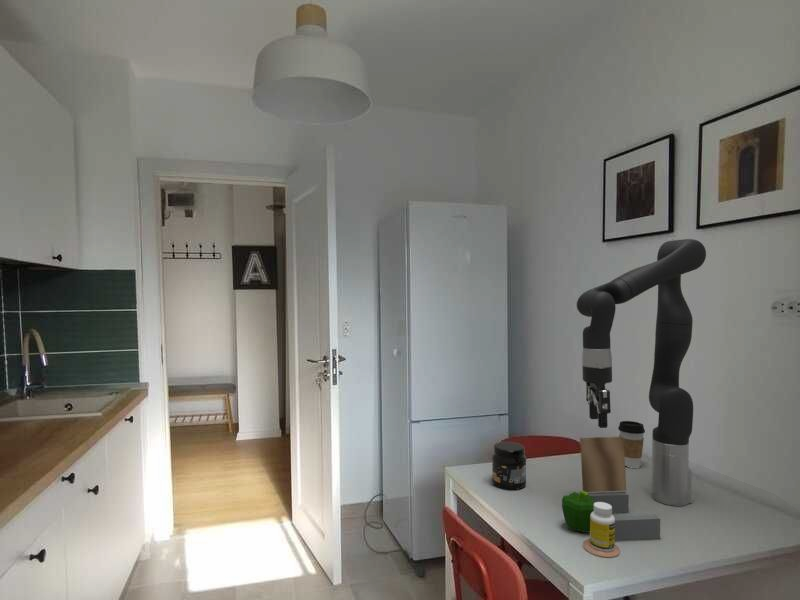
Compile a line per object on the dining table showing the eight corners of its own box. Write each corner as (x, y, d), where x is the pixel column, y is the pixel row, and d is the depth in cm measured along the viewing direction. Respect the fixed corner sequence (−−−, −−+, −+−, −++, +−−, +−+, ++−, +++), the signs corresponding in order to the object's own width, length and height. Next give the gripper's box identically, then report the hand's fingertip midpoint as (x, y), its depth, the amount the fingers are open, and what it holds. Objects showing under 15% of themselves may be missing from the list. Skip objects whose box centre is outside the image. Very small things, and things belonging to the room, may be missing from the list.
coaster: (608, 539, 118) (608, 537, 118) (626, 557, 111) (626, 555, 111) (577, 540, 118) (577, 538, 118) (592, 558, 110) (593, 556, 110)
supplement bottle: (612, 555, 111) (613, 512, 110) (587, 548, 113) (587, 506, 113) (616, 544, 115) (616, 503, 115) (592, 538, 118) (592, 498, 118)
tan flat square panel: (626, 490, 133) (624, 489, 134) (623, 437, 135) (621, 436, 136) (584, 492, 132) (582, 491, 133) (581, 438, 134) (579, 437, 135)
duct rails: (624, 509, 134) (624, 491, 134) (660, 538, 119) (660, 518, 118) (582, 511, 133) (582, 493, 133) (612, 541, 118) (613, 520, 117)
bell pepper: (557, 520, 128) (557, 483, 128) (587, 519, 128) (587, 482, 128) (570, 536, 120) (570, 496, 119) (602, 535, 120) (603, 495, 120)
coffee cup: (621, 469, 165) (622, 425, 164) (614, 460, 173) (615, 418, 173) (648, 470, 163) (648, 426, 163) (640, 462, 172) (640, 419, 171)
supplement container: (488, 477, 157) (488, 441, 157) (520, 477, 158) (521, 440, 157) (496, 491, 147) (496, 451, 147) (530, 490, 147) (530, 451, 147)
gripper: (576, 360, 140) (577, 416, 141) (589, 368, 126) (591, 430, 127) (603, 360, 140) (604, 416, 140) (619, 368, 125) (621, 430, 126)
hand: (598, 423), depth 133 cm, fingers open, 8 cm apart
